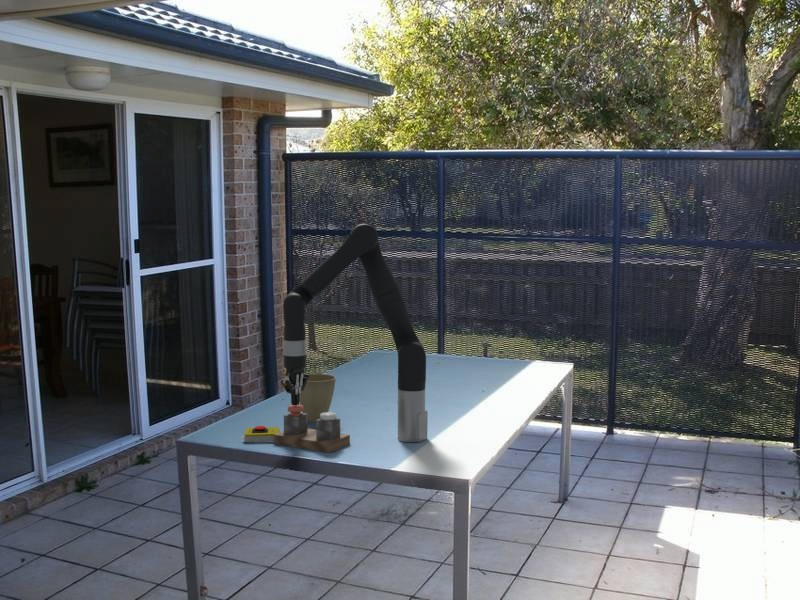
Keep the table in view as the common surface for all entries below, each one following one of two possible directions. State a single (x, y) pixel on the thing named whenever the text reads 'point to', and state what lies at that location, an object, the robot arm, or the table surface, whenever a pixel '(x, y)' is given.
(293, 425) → the press board
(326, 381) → the plant pot
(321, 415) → the white plunger
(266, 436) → the emergency button
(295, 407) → the red plunger
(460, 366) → the table surface
